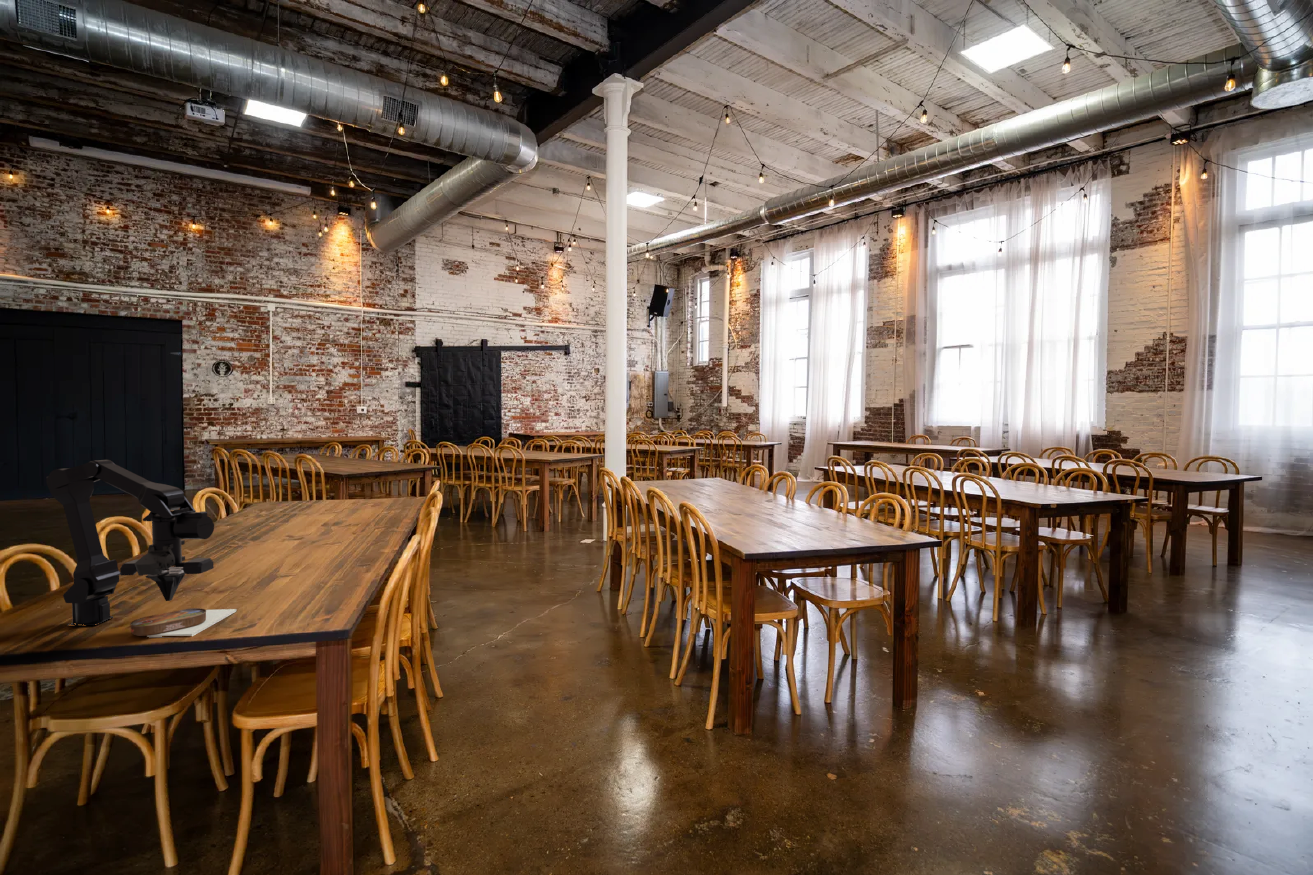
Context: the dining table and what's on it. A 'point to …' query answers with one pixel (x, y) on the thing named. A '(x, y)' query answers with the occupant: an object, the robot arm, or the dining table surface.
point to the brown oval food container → (168, 622)
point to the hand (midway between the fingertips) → (168, 600)
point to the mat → (211, 619)
